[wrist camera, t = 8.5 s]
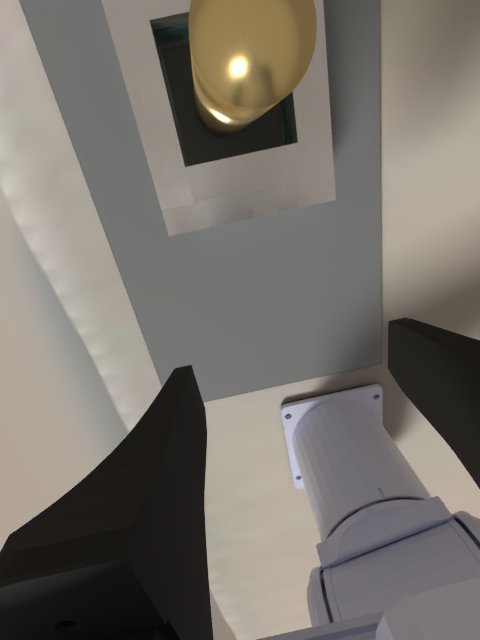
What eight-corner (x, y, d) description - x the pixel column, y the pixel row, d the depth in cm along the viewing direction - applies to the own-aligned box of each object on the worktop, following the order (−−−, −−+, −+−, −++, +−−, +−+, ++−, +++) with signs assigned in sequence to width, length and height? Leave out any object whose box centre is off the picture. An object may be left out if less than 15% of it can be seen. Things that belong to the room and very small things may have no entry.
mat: (378, 359, 25) (381, 363, 25) (170, 405, 25) (170, 409, 24) (372, -163, 14) (378, -174, 13) (-7, -81, 14) (-14, -89, 13)
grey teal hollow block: (312, 193, 19) (336, 199, 16) (175, 223, 19) (169, 236, 16) (281, -134, 13) (308, -236, 10) (89, -93, 13) (49, -181, 10)
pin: (259, 129, 17) (321, 94, 8) (203, 141, 17) (205, 119, 8) (248, 59, 16) (310, -71, 7) (188, 72, 16) (172, -43, 7)
